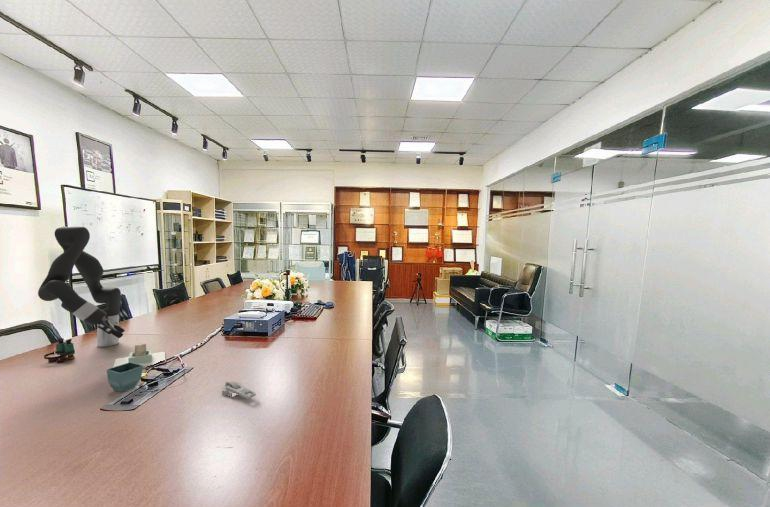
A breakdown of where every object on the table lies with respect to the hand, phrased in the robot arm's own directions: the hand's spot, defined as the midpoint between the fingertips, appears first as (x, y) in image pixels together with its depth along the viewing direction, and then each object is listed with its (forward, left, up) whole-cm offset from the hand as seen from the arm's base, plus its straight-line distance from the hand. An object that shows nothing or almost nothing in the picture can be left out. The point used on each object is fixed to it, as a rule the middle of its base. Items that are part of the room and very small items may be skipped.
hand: (122, 334), depth 146 cm
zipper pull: (+62, +40, -16) cm, 75 cm away
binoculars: (-23, -25, -16) cm, 38 cm away
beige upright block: (0, +7, -14) cm, 16 cm away
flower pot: (+30, +3, -16) cm, 34 cm away
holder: (0, +7, -15) cm, 17 cm away
